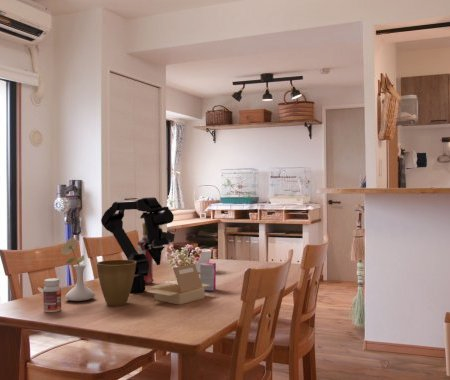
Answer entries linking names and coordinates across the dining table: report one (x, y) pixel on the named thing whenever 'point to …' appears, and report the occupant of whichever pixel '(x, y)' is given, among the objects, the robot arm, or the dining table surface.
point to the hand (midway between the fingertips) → (158, 265)
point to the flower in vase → (79, 290)
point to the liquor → (140, 250)
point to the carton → (176, 293)
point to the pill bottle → (52, 295)
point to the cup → (203, 258)
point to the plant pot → (116, 280)
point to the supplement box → (208, 275)
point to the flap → (187, 277)
